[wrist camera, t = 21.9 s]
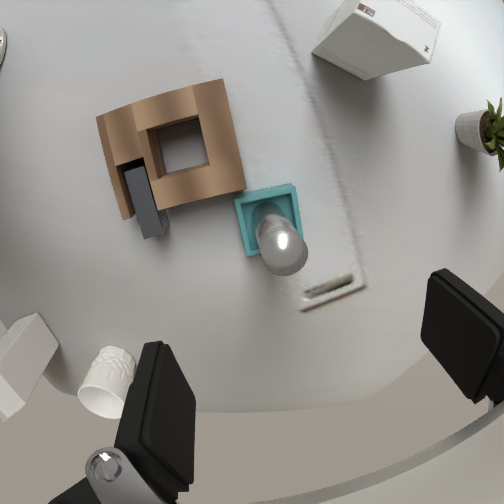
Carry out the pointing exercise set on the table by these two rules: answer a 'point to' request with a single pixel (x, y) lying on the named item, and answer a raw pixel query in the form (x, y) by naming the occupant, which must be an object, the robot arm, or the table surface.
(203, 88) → the socket block
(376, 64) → the skincare box
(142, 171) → the bar
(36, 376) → the milk carton
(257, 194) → the tray
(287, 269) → the peg
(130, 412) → the robot arm
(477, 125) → the house plant
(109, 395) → the white cup
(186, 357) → the table surface
